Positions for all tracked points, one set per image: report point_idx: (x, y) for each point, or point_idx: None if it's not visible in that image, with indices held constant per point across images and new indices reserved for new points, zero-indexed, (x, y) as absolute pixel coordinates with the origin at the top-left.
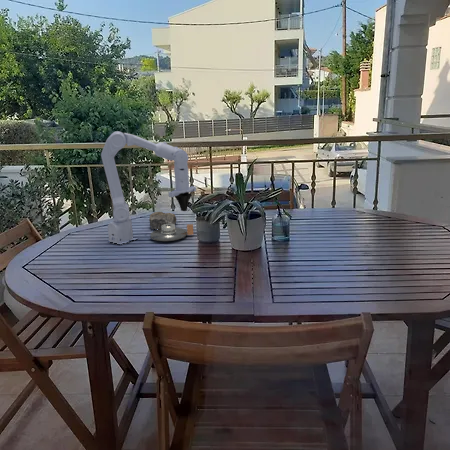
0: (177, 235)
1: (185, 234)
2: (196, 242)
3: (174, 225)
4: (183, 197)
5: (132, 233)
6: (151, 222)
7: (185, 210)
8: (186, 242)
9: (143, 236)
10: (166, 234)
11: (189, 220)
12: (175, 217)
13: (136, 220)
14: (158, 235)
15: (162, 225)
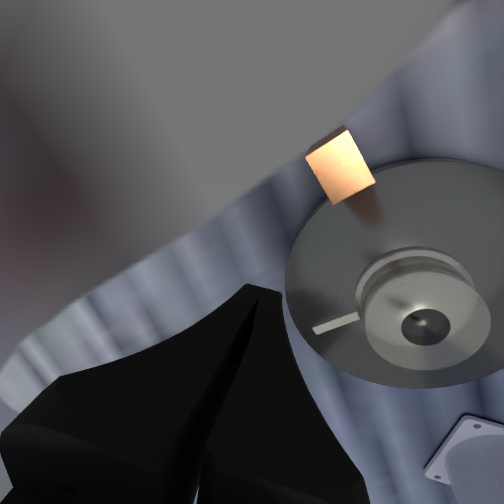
0: (478, 199)
1: (409, 162)
2: (481, 8)
3: (411, 283)
4: (365, 495)
5: (501, 466)
6: None
7: (270, 292)
8: (491, 101)
9: (404, 406)
10: (472, 286)
11: (82, 312)
12: None
13: (197, 492)
14: (494, 328)
15: (431, 365)
